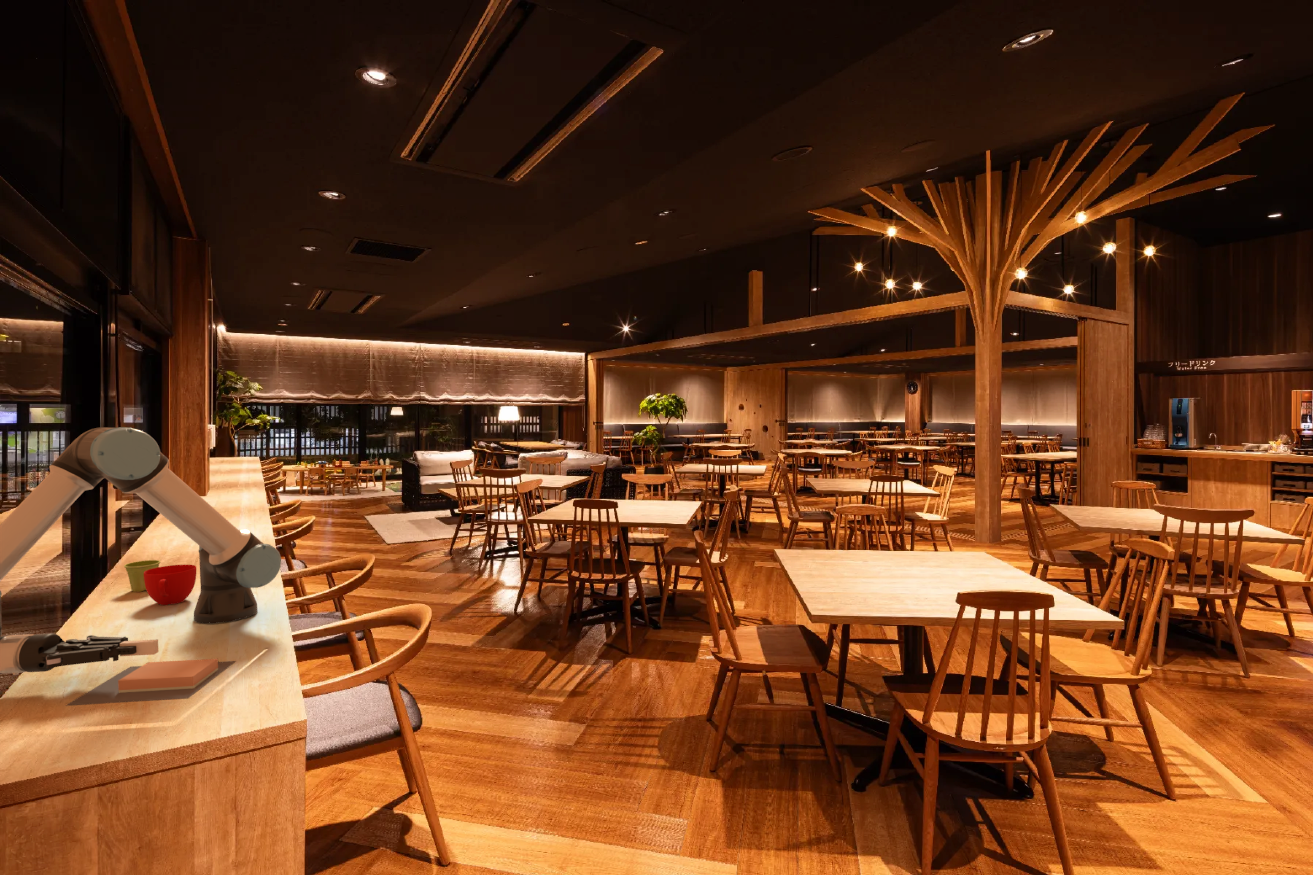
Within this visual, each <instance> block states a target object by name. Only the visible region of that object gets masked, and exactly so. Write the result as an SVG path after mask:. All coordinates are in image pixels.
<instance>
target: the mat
mask: <svg viewBox="0 0 1313 875" xmlns="http://www.w3.org/2000/svg"><path fill="white" fill-rule="evenodd" d="M236 662H237V660H231V661H228V660H227V661H218V670H217V671H216V672H214V673H213V674H212V675H210V676H209V677H208V678H207V679H205V680H204V681H203V682H201V683H200V684H199V685H197V686H196V687H195V688H191V689H174V690H157V691H140V692H122V693H119V687H118V680H120V679H122V678H123V677H125V676H127V675H128V674H130V673H132V672H133V671H135V670H136V669H138V668H140V667H141V666H142V665H136V666H129V667H127V668H126V669H124V670H122V671H121V672H119V673H117V674H115V675H114V676H112V677H111V678H109V679H108V680H107V679H106V681H104V682H103V683H101V684H99V685H97V686H95V687H94V688H92V689H91V690H89V691H87V692H85V693H84V694H82V695H81V696H79V697H76V698H75V699H74V700H72V701H70V702H69V703H68V704H67V703H66V704H65V706H66V707H69V706H71V707H72V706H83V705H84V706H86V705H87V706H88V705H98V704H99V705H100V704H101V705H102V704H117V703H132V702H134V703H135V702H153V701H167V700H182V699H183V700H187V699H190V697H192V696H193V695H194V694H196V693H197V692H199V691H200V690H201V689H202V688H204V687H205V686H207V684H209V683H210V682H211V681H213V680H214V679H215V678H217V677H218V676H219V675H221V674H222V673H223V672H224V671H225V670H227V669H228V668H229V667H232V665H233V664H235V663H236Z"/></svg>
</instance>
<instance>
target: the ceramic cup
mask: <svg viewBox="0 0 1313 875" xmlns="http://www.w3.org/2000/svg"><path fill="white" fill-rule="evenodd" d="M196 579H197V566H196V565H194V564H171V565H164V566H163V565H162V566H159V567H157V568H153V569H149V570H147V571H145V572H144V582H145V587H146V590H145V591H146V592H147V594H148V596H149V598H151V600H153V601H154V602H155V603H156V604H157V605H159V604H161V606H168V604H170V605H176V604H180V603H183V602H185V601H186V599H187V598H188V597H189V596H190V595H191V593H192V592H193V590H194V587H195V585H196Z"/></svg>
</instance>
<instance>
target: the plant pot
mask: <svg viewBox="0 0 1313 875" xmlns="http://www.w3.org/2000/svg"><path fill="white" fill-rule="evenodd" d="M160 563H161V560H158V559H149V560H137V561H132V562H129V563H125V564H124V565H123V567H124V568H125V570H126V573H127V577H128V580H129V584H130V589H131V591H132V592H134V593H136V592H137V593H141V592H143V591H147V590H146V587H145V582H144V572H145V571H147V570H149V569H153V568H157V567H160Z"/></svg>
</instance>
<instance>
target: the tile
mask: <svg viewBox="0 0 1313 875" xmlns="http://www.w3.org/2000/svg"><path fill="white" fill-rule="evenodd" d="M218 662H219V660H218V658H205V659H204V658H203V659H189V660H188V659H186V660H183V659H181V660H166V661H163V660H162V661H151V662H150V661H148V662H146V663H145V664H143V665H140V666H141V667H140V668H138V669H136V670H135V671H133V672H132V673H130V674H128V675H127V676H125V677H123V678H122V679H120V680H118V687H119V693H122V692H140V691H157V690H174V689H191V688H195V687H196V686H197V685H199V684H200V683H201V682H203V681H204V680H205V679H207V678H208V677H209V676H210V675H212V674H213V673H214V672H216V671H217V670H218Z"/></svg>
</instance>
